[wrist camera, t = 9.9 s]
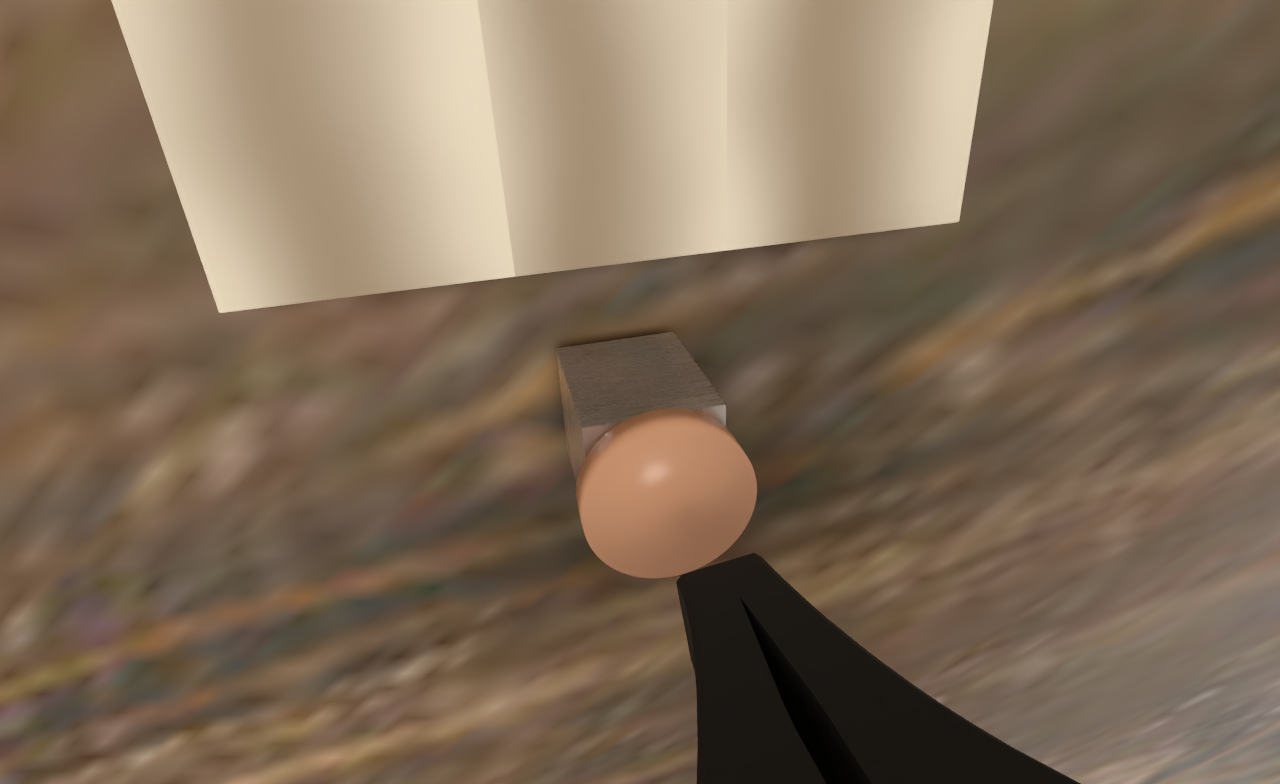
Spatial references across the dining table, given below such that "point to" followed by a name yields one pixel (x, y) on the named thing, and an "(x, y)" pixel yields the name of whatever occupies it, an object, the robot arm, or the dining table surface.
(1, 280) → the dining table surface
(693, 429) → the cap
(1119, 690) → the dining table surface
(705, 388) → the plunger housing
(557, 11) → the block
